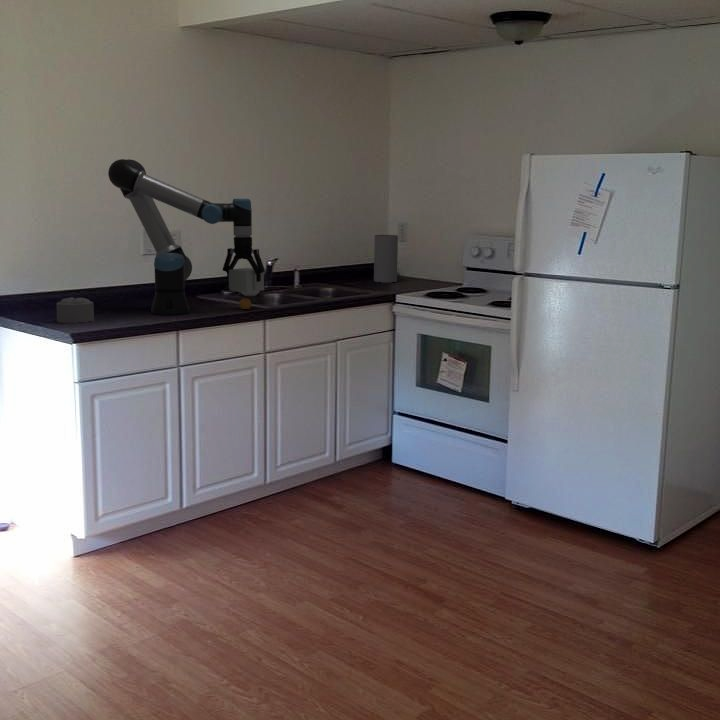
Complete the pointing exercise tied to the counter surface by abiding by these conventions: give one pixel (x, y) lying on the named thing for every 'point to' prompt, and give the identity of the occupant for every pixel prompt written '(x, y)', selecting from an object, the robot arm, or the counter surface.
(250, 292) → the lidded jar
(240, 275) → the wide gray carton
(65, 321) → the lumpy-topped squat cylinder
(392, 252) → the cylinder vase
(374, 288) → the counter surface
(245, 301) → the ball
